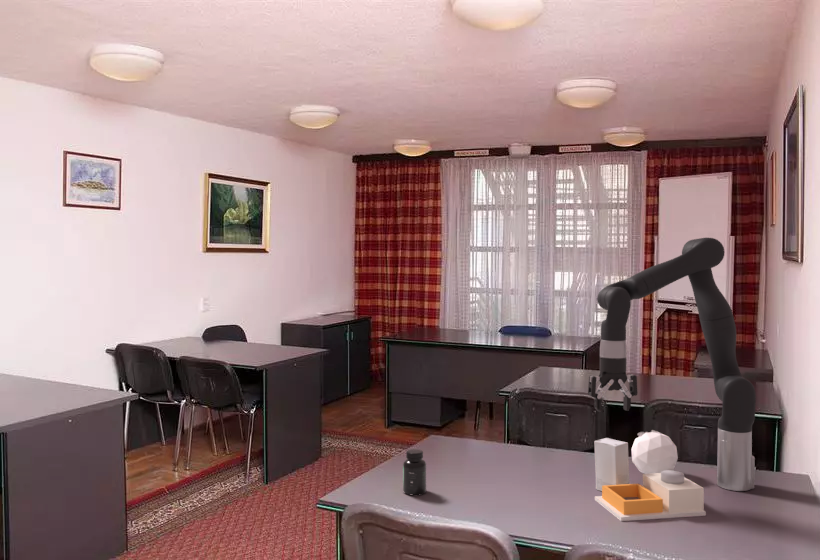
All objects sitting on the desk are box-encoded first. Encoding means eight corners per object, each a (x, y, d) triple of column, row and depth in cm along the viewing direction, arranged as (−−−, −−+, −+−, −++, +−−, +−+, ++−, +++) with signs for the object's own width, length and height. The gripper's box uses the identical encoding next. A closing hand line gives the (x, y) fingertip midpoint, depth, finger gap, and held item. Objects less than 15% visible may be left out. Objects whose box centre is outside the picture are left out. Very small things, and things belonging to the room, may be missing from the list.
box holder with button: (673, 495, 199) (673, 464, 198) (705, 515, 183) (706, 481, 183) (594, 499, 195) (594, 468, 195) (621, 521, 179) (621, 486, 179)
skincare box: (630, 493, 200) (630, 442, 200) (616, 497, 197) (616, 445, 196) (607, 485, 207) (607, 436, 207) (593, 489, 204) (593, 439, 203)
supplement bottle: (398, 493, 200) (398, 452, 200) (409, 486, 206) (409, 446, 206) (419, 497, 197) (419, 455, 197) (430, 490, 203) (430, 449, 203)
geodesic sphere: (623, 461, 211) (652, 425, 210) (614, 449, 225) (642, 415, 224) (663, 492, 210) (693, 456, 209) (652, 478, 224) (680, 444, 223)
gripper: (629, 353, 206) (629, 407, 206) (584, 354, 203) (584, 408, 204) (642, 356, 198) (641, 412, 199) (595, 357, 196) (594, 414, 196)
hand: (612, 410), depth 201 cm, fingers open, 8 cm apart
